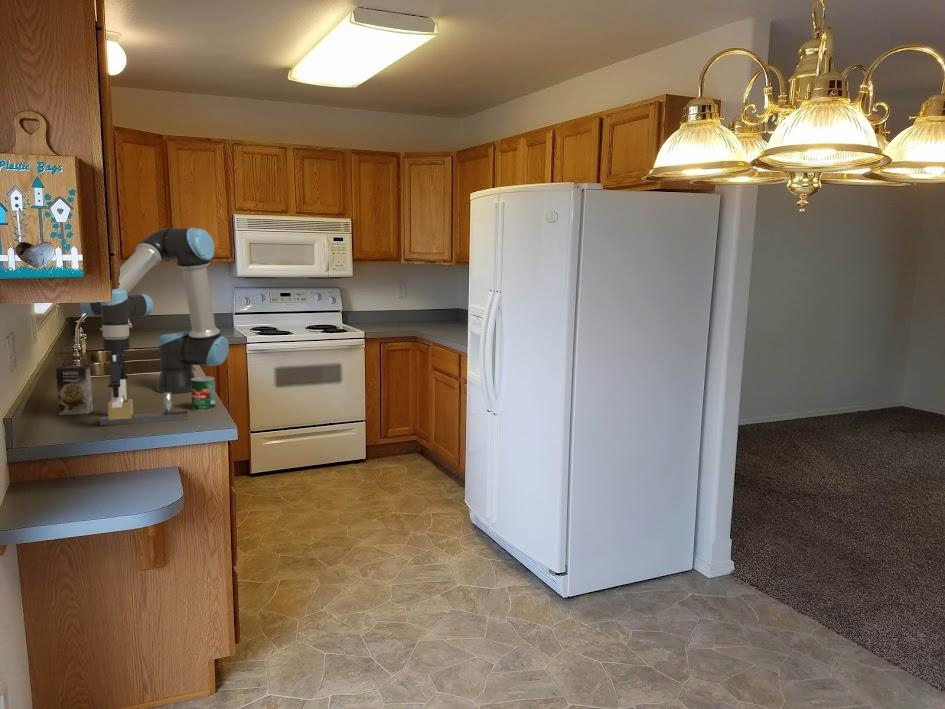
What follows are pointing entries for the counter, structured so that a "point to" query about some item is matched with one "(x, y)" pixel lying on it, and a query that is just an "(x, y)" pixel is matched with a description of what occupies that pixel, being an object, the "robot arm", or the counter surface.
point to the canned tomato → (203, 393)
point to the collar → (121, 410)
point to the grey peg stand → (149, 415)
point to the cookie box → (74, 390)
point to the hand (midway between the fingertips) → (119, 403)
